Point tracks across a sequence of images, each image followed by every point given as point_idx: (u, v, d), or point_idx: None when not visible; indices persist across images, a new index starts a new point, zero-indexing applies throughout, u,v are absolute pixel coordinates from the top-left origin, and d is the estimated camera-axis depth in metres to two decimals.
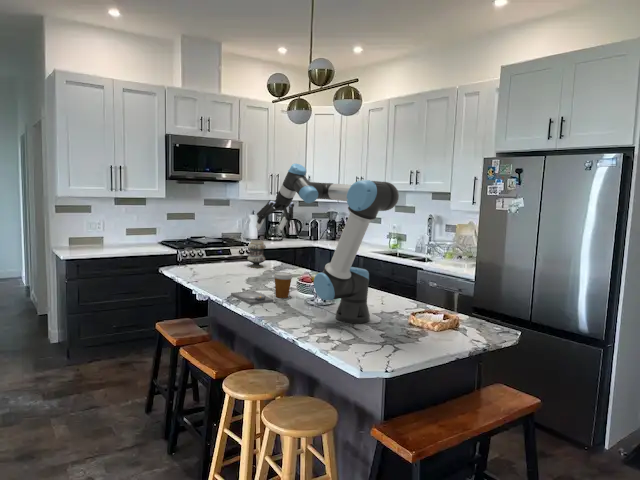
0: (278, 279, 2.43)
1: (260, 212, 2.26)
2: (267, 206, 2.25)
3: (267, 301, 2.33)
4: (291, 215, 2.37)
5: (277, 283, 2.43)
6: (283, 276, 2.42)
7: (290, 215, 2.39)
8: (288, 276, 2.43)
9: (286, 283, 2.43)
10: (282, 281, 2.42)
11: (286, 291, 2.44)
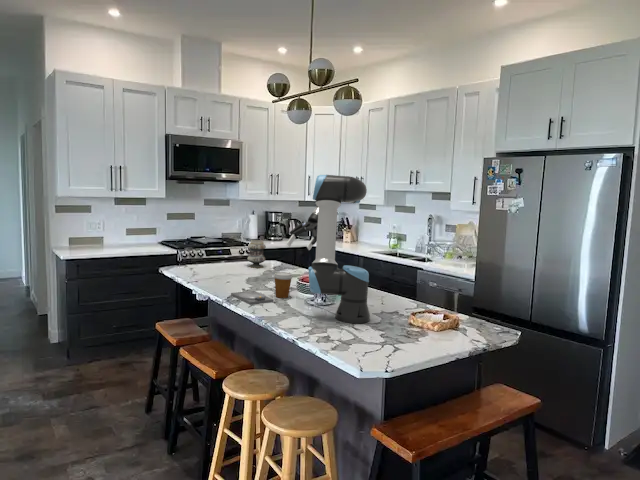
0: (278, 279, 2.43)
1: None
2: None
3: (267, 301, 2.33)
4: None
5: (277, 283, 2.43)
6: (283, 276, 2.42)
7: None
8: (288, 276, 2.43)
9: (286, 283, 2.43)
10: (282, 281, 2.42)
11: (286, 291, 2.44)
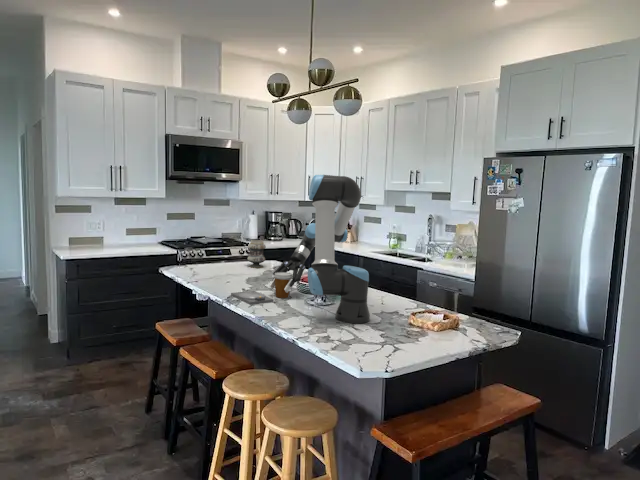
0: (278, 279, 2.43)
1: None
2: None
3: (267, 301, 2.33)
4: (297, 275, 2.44)
5: (277, 283, 2.43)
6: (283, 276, 2.42)
7: None
8: (288, 276, 2.43)
9: (286, 283, 2.43)
10: (282, 281, 2.42)
11: None
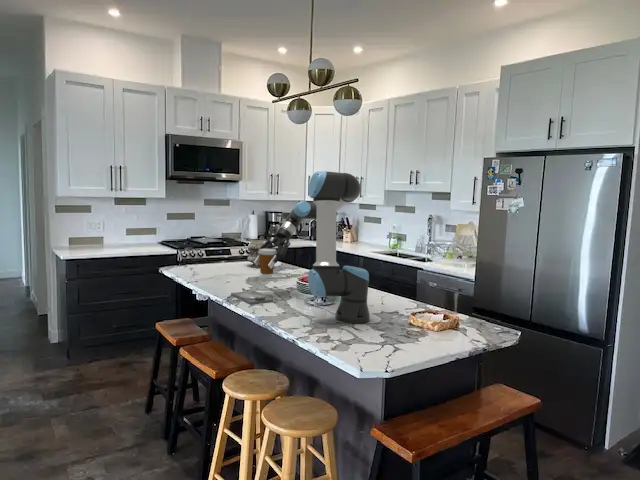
0: (262, 255, 2.38)
1: None
2: None
3: (267, 301, 2.33)
4: (281, 251, 2.40)
5: (261, 259, 2.39)
6: (267, 252, 2.37)
7: None
8: (272, 252, 2.38)
9: (270, 259, 2.39)
10: (266, 257, 2.38)
11: None
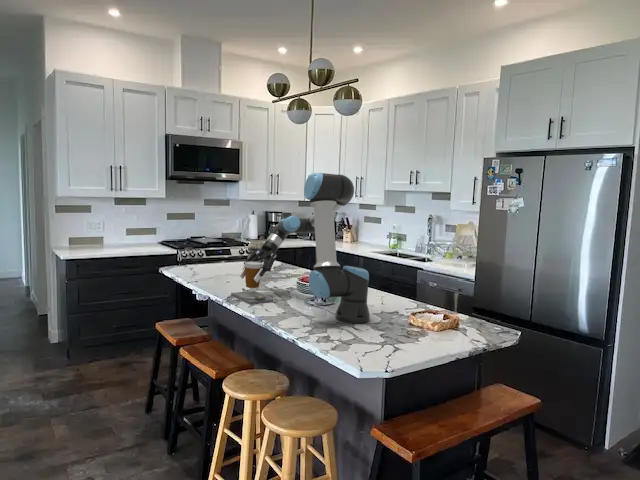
0: (248, 268, 2.34)
1: None
2: None
3: (267, 301, 2.33)
4: (267, 264, 2.36)
5: (247, 272, 2.35)
6: (253, 265, 2.34)
7: None
8: (258, 265, 2.35)
9: (256, 273, 2.35)
10: (252, 270, 2.34)
11: None
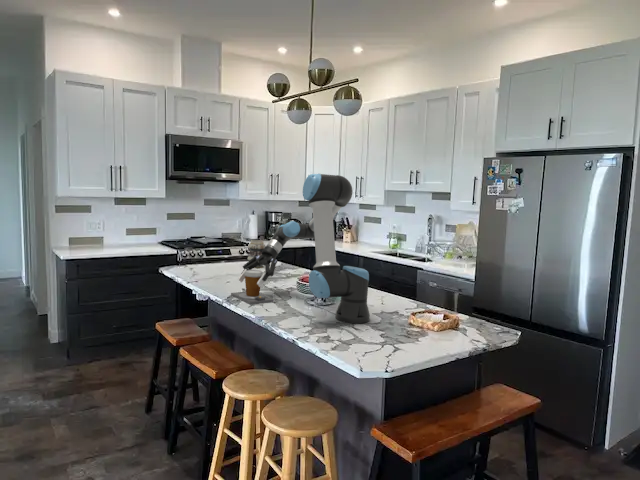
0: (248, 277, 2.35)
1: None
2: None
3: (267, 301, 2.33)
4: (270, 269, 2.36)
5: (247, 281, 2.36)
6: (253, 274, 2.34)
7: None
8: (258, 274, 2.35)
9: (256, 281, 2.35)
10: (252, 279, 2.34)
11: (256, 289, 2.36)
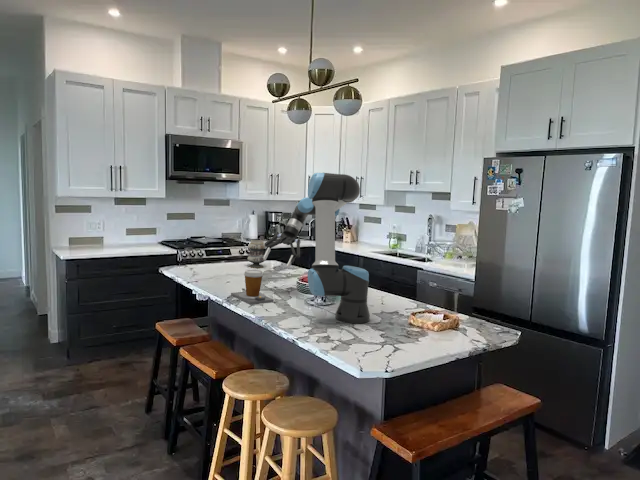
0: (248, 277, 2.35)
1: None
2: None
3: (267, 301, 2.33)
4: (297, 251, 2.48)
5: (247, 281, 2.36)
6: (253, 274, 2.34)
7: None
8: (258, 274, 2.35)
9: (256, 281, 2.35)
10: (252, 279, 2.34)
11: (256, 289, 2.36)
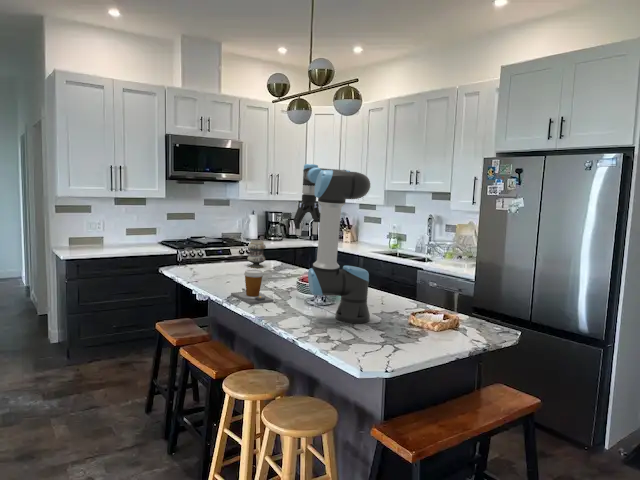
0: (248, 277, 2.35)
1: (296, 216, 2.44)
2: (299, 209, 2.45)
3: (267, 301, 2.33)
4: (319, 216, 2.58)
5: (247, 281, 2.36)
6: (253, 274, 2.34)
7: (317, 218, 2.59)
8: (258, 274, 2.35)
9: (256, 281, 2.35)
10: (252, 279, 2.34)
11: (256, 289, 2.36)
